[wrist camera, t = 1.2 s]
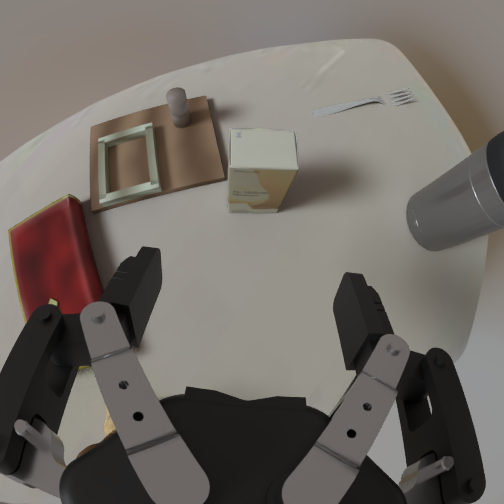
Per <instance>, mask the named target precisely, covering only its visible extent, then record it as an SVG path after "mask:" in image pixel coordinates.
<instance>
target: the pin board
mask: <svg viewBox="0 0 504 504" xmlns="http://www.w3.org/2000/svg"><path fill="white" fill-rule="evenodd" d="M166 99H167V102H168V104H165V105H161V106H157V107H153V108H150V109H146V110H142V111H139V112H135V113H132V114H129V115H125V116H122V117H119V118H116V119H113V120H110V121H107V122H104V123H101V124H98V125H95V126H92V127H91V134H90V199H91V212H93V213H94V214H95V213H98V212H101V211H105V210H108V209H112V208H115V207H119V206H122V205H126V204H129V203H133V202H137V201H140V200H144V199H148V198H152V197H156V196H160V195H164V194H168V193H172V192H176V191H180V190H185V189H189V188H193V187H198V186H202V185H207V184H211V183H216V182H221V181H225V176H224V172H223V168H222V163H221V159H220V155H219V150H218V146H217V141H216V137H215V133H214V128H213V124H212V119H211V115H210V110H209V106H208V102H207V97H206V96H202V97H197V98H192V99H186V93H185V90H184V89H182V88H173V89H171V90H169V91H168V92H167V94H166Z"/></svg>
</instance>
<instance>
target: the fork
mask: <svg viewBox="0 0 504 504" xmlns="http://www.w3.org/2000/svg"><path fill="white" fill-rule="evenodd" d="M407 89H409V88H406V89H402V90H398V91H393V92H388V93H386V94H387V95H389V94H394V93H397V92H401V91H405V90H407ZM410 92H411V91H409V92H405V93H401V94H397V95H394V96H389V98H390V99H392V98H395V97H398V96H401V95H404V94H407V93H410ZM412 95H413V94H411V95H408V96H405V97H402V98H399V99H395V100H391V101H392V102H393V104H394V102H397V101H399V100H402V99H405V98H408V97H410V96H412ZM415 98H416V97H414V98H411V99H408V100H405V101H403V102H400V103H397V104H394V105H395V106H398V105H401V104H403V103H406V102H408V101H410V100H413V99H415ZM369 102H379V103H381V104H383V105H386V104H385V102H384V101H383V100H382V98H381V97H380V96H379V97H378V98H370V99H365V100H361V101H356V102H350V103H344V104H338V105H333V106H328V107H322V108H318V109H316V110H314V111H313V112H312V113H311V114H312V115H313V116H317V117H321V116H327V115H330V114H334V113H337V112H341V111H344V110H346V109H349V108H352V107H355V106H358V105H361V104H365V103H369Z"/></svg>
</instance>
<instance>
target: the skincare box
mask: <svg viewBox="0 0 504 504" xmlns="http://www.w3.org/2000/svg"><path fill="white" fill-rule="evenodd" d="M298 169H299V160H298V143H297V133H296V131H294V130H280V129H266V128H230V132H229V154H228V212H230V213H277V211H278V209H279V207H280V205H281V203H282V201H283V199H284V197H285V195H286V193H287V191H288V189H289V187H290V185H291V183H292V181H293V179H294V177H295V175H296V173H297V171H298Z"/></svg>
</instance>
